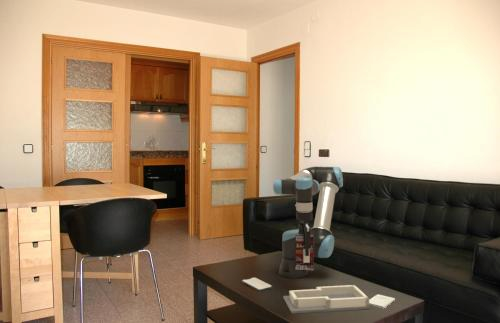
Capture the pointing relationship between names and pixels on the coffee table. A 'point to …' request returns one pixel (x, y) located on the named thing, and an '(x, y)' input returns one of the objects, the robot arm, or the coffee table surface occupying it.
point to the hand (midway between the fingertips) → (304, 260)
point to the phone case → (257, 284)
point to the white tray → (326, 299)
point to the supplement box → (299, 253)
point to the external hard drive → (381, 301)
